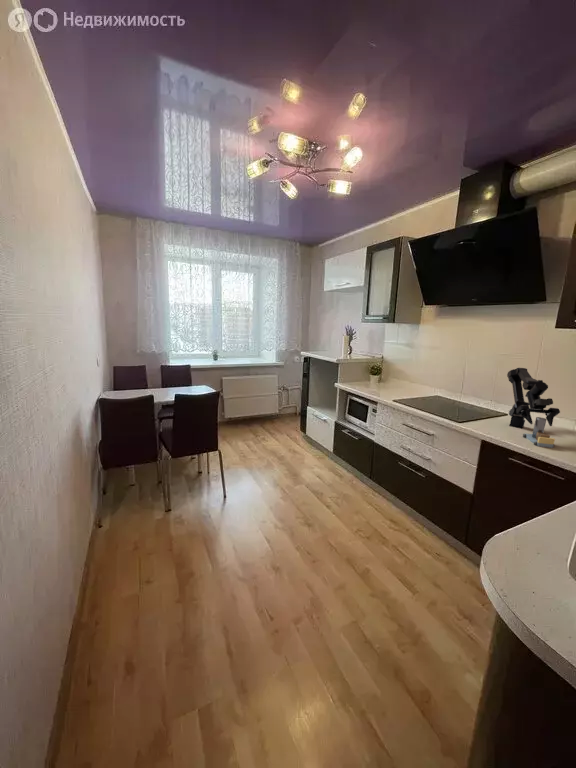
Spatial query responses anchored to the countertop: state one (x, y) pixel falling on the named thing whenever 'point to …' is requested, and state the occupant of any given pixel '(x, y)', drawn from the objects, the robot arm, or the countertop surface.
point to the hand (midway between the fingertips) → (541, 425)
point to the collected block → (542, 435)
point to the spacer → (539, 426)
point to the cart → (540, 441)
